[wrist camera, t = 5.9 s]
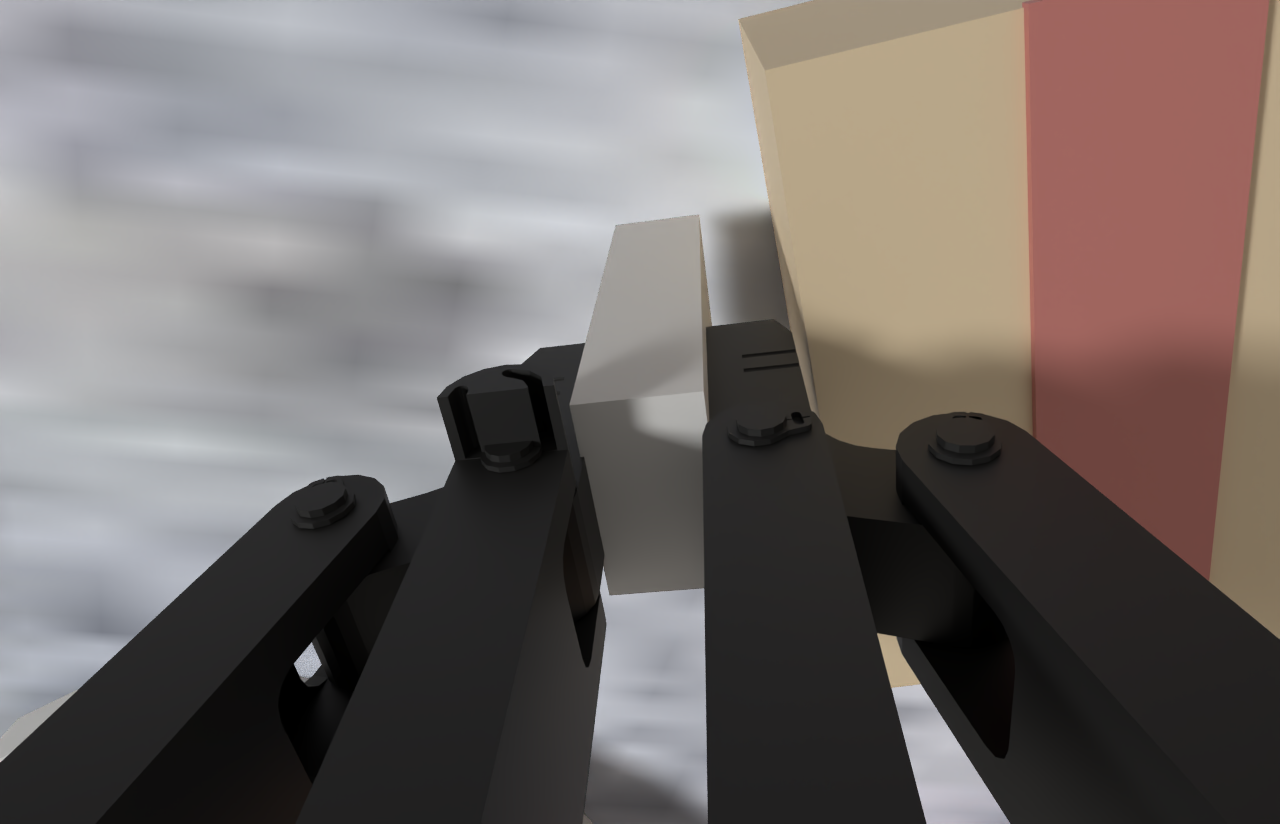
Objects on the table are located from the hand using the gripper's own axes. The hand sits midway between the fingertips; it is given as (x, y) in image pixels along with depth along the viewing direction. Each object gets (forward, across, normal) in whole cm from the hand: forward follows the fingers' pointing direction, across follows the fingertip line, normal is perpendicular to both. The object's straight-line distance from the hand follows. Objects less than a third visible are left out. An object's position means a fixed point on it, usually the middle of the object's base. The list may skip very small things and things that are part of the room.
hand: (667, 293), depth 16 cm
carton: (+2, +6, 0) cm, 6 cm away
